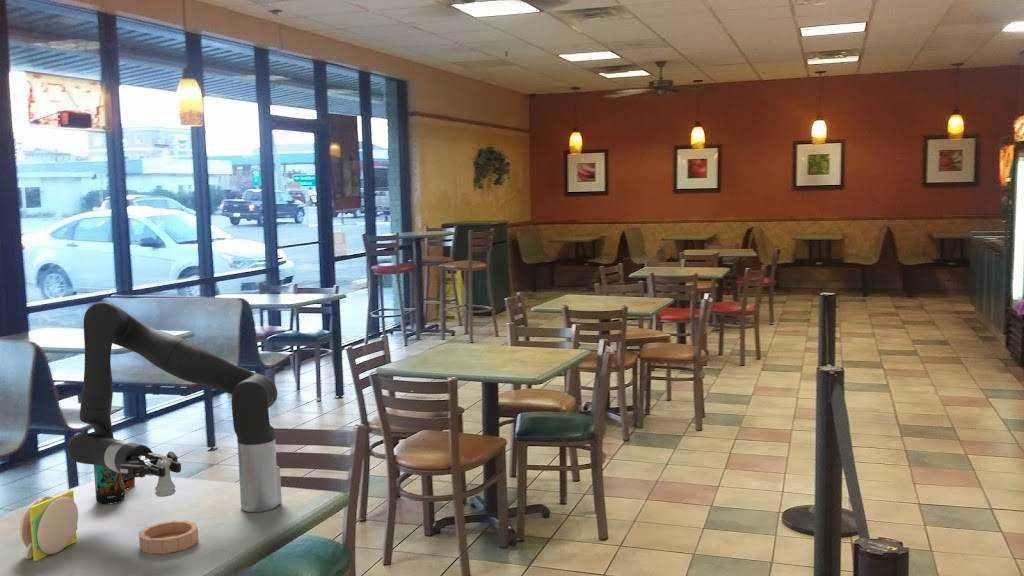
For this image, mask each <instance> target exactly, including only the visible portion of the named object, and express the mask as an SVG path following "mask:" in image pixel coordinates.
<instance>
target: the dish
mask: <svg viewBox="0 0 1024 576" xmlns="http://www.w3.org/2000/svg"><path fill="white" fill-rule="evenodd" d="M138 539H139V540H138V542H139V549H141V550H142V551H144V552H146V553H145V554H148V553H152V554H151V555H165V554H167V553H168V554H173V553H172V552H174V553H177V551H178V552H182V551H185V550H187V549H189V548H191V547H193V546H195V545H196V544H197V543H198V541H199V530H198V524H197V523H196V522H193V521H189V520H170V521H169V520H168V521H161V522H157V523H154V524H152V525H149V526H146V527H144V528H143V529H141V530H139V532H138ZM141 550H140V551H141ZM181 550H182V551H181ZM142 551H141V552H142ZM144 552H143V553H144ZM168 554H167V555H168Z"/></svg>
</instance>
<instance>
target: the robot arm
mask: <svg viewBox="0 0 1024 576" xmlns="http://www.w3.org/2000/svg"><path fill="white" fill-rule="evenodd" d="M83 338H84V339H83V340H84V341H83V342H84V368H83V369H84V371H83V383H82V392H81V400H80V408H79V420H80V422H82V423H84V424H87V425H90V426H92V428H93V430H94V433H91V432H90V433H88V432H80V433H77V434H74V435H73V436H72V437H71V438H70V439H69V440H68V442H67V445H66V452H67V455H68V457H69V458H70V460H72V461H73V462H75V463H79V464H84V465H93V466H94V465H98V466H102V467H105V468H108V469H111V470H113V471H115V472H117V473H121V476H127V477H135V478H145V477H146V476H150V477H152V476H156V477H158V478H159V477H165V468H164V467H162V466H158V465H156V464H157V462H158V459H161V461H162V458H164V460H166V458H168V459H169V460H170V462H171V465H170V467H169V468H170V469H171V470H170V472H173V473H176V474H178V473H181V472H182V471H181V470H182V463H181V462H179V461H178V455H176V453H174V451H168V452H167V453H166V455H162V454H157V453H154V452H153V451H152V449H151V448H150V447H148V446H147V445H144V444H141V443H136V442H132V441H127V440H121V439H116V438H115V437H114V434H113V426H112V419H111V411H112V405H113V404H112V403H113V395H114V386H113V384H114V383H113V374H112V366H111V364H112V363H111V355H112V346H113V344H114V345H116V346H119V347H122V348H125V349H126V350H130V351H132V352H135V353H136V354H139V356H141V357H143V358H144V359H146V360H147V361H149V363H150V364H152V365H154V366H155V367H157V368H158V369H160V370H162V371H163V372H166V373H168V374H170V375H172V376H174V377H176V378H178V379H180V380H183V381H186V382H188V383H192V384H196V385H197V384H198V385H202V386H206V387H211V388H216V389H219V390H221V391H224V392H226V393H228V394H230V395H231V414H232V425H233V430H234V433H235V434H236V438H237V439H236V441H237V454H238V455H237V456H238V475H239V476H238V477H239V478H238V479H239V494H240V509H241V510H242V511H244V512H247V513H248V512H249V513H259V512H266V511H269V510H273V509H275V508H277V507H278V506H279V505H280V504H283V502H282V486H281V485H282V484H281V482H282V481H281V468H280V466H278V465H277V449H276V430H275V428H274V426H272V425H271V424H270V415H269V414H270V413H269V409H270V408H271V407H272V406H273V405H274V404H275V403H276V401H277V399H278V389H277V386H276V384H275V383H274V382H273V381H272V380H271V379H270V378H269V377H267V376H266V375H263V374H260V373H258V372H254V371H252V370H250V369H249V370H248V369H247V368H244V367H241V366H238V365H236V364H233V363H231V362H229V361H228V360H226V359H224V358H223V357H220V356H218V355H216V354H214V353H212V352H210V351H208V350H206V349H205V348H202V347H201V346H199V345H197V344H195V343H193V342H191V341H188V340H186V339H184V338H182V337H180V336H177V335H175V334H172V333H169V332H165V331H162V330H160V329H159V330H158V329H156V328H153V327H151V326H149V325H147V324H145V323H144V322H142V321H140V320H138V319H137V318H135V317H134V316H132V315H131V314H129V313H128V312H127V311H126V310H124V309H122V308H120V307H119V306H116V305H115V304H112V303H110V302H106V301H98V302H96V303H93V304H92V305H90V306H89V307H88V308H87V309H86V311H85V313H84V316H83Z"/></svg>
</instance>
